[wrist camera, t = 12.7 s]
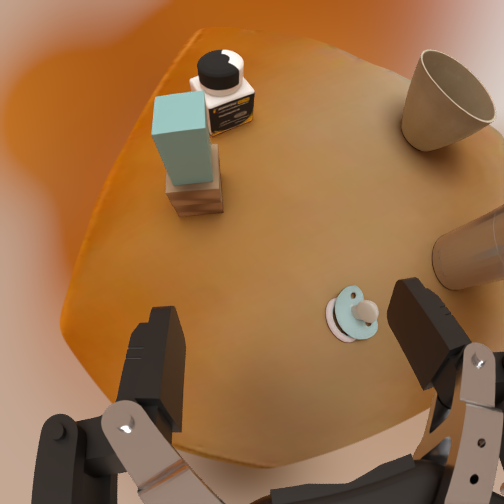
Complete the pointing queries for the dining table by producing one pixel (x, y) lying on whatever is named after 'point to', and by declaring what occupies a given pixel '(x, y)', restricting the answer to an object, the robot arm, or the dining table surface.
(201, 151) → the pillar
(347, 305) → the pacifier
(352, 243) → the dining table surface
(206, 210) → the tower base slab
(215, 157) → the tower upper slab
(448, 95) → the plant pot
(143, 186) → the dining table surface
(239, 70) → the medicine bottle
